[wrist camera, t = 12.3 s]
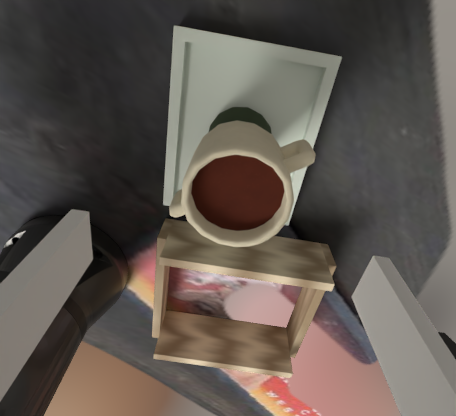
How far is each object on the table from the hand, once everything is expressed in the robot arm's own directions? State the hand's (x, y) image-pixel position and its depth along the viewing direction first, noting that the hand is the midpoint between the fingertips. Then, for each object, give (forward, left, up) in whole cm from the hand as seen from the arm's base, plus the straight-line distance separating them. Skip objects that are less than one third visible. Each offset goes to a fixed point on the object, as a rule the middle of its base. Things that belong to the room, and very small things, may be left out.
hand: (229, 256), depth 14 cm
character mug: (0, 0, -18) cm, 18 cm away
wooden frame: (+3, -20, -19) cm, 28 cm away
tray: (0, 0, -19) cm, 19 cm away
